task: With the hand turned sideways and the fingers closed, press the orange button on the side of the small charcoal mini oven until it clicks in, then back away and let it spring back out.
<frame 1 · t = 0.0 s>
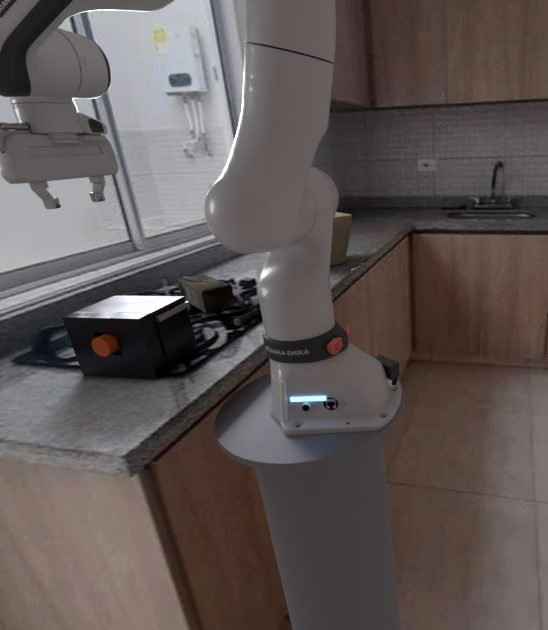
hand: (77, 205, 82), 30 cm above the worktop, tool pointing down, fingers open, 8 cm apart
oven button: (108, 343, 80), point 7 cm above the worktop, slide at 0.1 cm
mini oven: (143, 362, 88), on the worktop
flower pot: (320, 264, 155), on the worktop
knife: (263, 312, 112), on the worktop
beverage carton: (208, 304, 120), on the worktop
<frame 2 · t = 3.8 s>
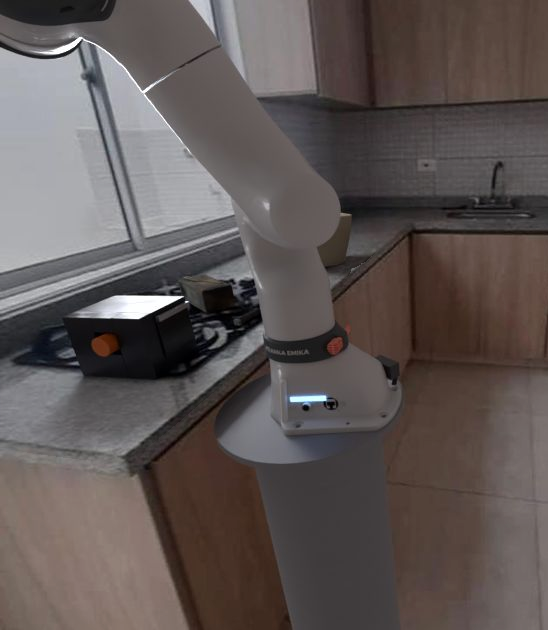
nothing on the worktop moved.
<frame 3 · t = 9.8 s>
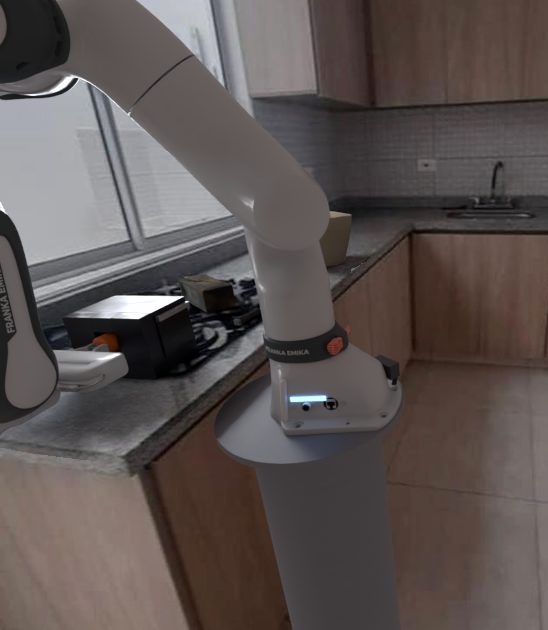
hand: (101, 347, 78), 7 cm above the worktop, tool horizontal, fingers closed, pressing on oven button
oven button: (109, 343, 80), point 7 cm above the worktop, slide at -0.1 cm, touching gripper
everything else where it was.
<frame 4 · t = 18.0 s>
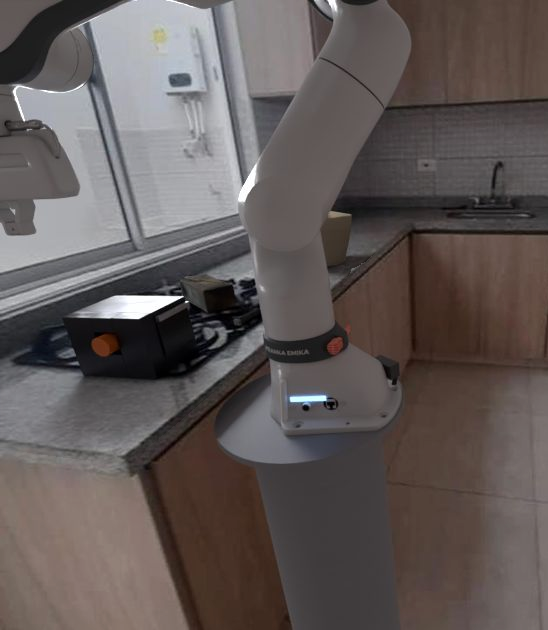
hand: (22, 234, 59), 29 cm above the worktop, tool pointing down, fingers closed
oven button: (108, 343, 80), point 7 cm above the worktop, slide at 0.1 cm
everything else where it was.
at the end: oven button pushed in 0.7 cm at the most during the clip, back to where it started at the end; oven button slide at 0.1 cm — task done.
